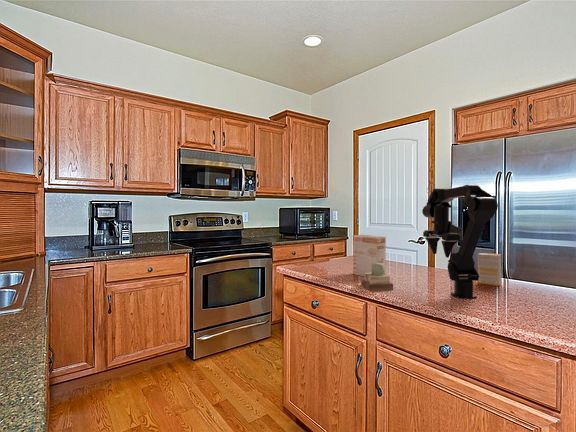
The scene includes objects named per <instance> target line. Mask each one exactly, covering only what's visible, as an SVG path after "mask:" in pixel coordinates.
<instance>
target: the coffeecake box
mask: <svg viewBox="0 0 576 432" xmlns="http://www.w3.org/2000/svg"><path fill="white" fill-rule="evenodd" d="M386 247H387V246H386V236H381V235H380V236H379V235H370V234H369V235H366V234H356V235H355V234H354V235H353V236H352V274H353V275H356V276H361V277H364V273H372V263H383V264H384V274H386V275H387V273H386V268H387V267H386V264H387V263H386V260H387V258H386V255H387V254H386V252H387V251H386V250H387V249H386Z"/></svg>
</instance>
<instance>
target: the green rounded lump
mask: <svg viewBox="0 0 576 432" xmlns="http://www.w3.org/2000/svg"><path fill="white" fill-rule="evenodd" d="M372 275H375V276H383V275H384V264H383V263H372Z"/></svg>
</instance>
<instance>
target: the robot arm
mask: <svg viewBox="0 0 576 432" xmlns="http://www.w3.org/2000/svg"><path fill="white" fill-rule="evenodd" d="M473 196H475V197H473ZM458 198H459V199H460V198H464V201H463V203H465V206H466V207H467V214H468V217H469V220H468V223H467V225H466V228H465V231H464V234H463V238H462V233H463V230H464V229H463V228H461V227H459V226H456V225H454V224H453V222H452V221H451V220H450V208H452V207H453V205H451V203H450V202H452V201H454V199H458ZM498 208H499V205H498V201H497V200H496V198H494V197H493V196H492V194H490V193H488V192H487V191H485V190H483V189H482V188H481V187H480V186H479V185H477V184H465V185H462V186H456V187H452V188H433V189H432V191H431V192H430V194H429V197H428V199H427V202H426V205H425V206H424V207H423V208H422V210H421V211H422V212H421V213H422V214H423V216H424V217H425V218H430V219H431V218H432V219H433V220H431V224H433V229H426V230H424V231H423V233H422V234H423V235H422V236H423V237H424V239H425V240H426V242H427V244H428V246H429V247H430V250H431V252H432V254H433V255H437V252H438V243H439V241H440V240H441V239H442V240H441V244H442V249H443V251H444V252H443V253H444V255H445V258H449V260H447V262H448V263H447V271H448V277H449V279H450V280H451V281H453V282H454V283H453V284H454V287H453V290H454V291H453V292H450V295H451V296H454V297H456V298H459V299H477V298H478V297H477V296H476V295H474V282H475V281H476V282H478V279H479V275H478V270H476V268H475V265H476V263H475V261H474V254H475V251H476V249H477V246H478V242H479V241H480V238H481V236H482V232H483V230H484V227H485V226H486V225H485V224H486V223H487V222H489V220H491V219H493V217H494V216H495V215H496V213H497V210H498ZM460 241H461V243H460V246H459V249H458V251H457V252H452V250H453V248H454V246H455V245H456V244H457V243H459V242H460Z"/></svg>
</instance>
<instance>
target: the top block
mask: <svg viewBox="0 0 576 432" xmlns="http://www.w3.org/2000/svg"><path fill="white" fill-rule="evenodd" d="M363 277H364V278H363V279H364V280H365V281H367V282H368V283H370V284H390V283H391V280H390V279H391V277H390V275H388V274H387V273H386V274H384V275H383V276H375V275H372V273H364V276H363Z"/></svg>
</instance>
